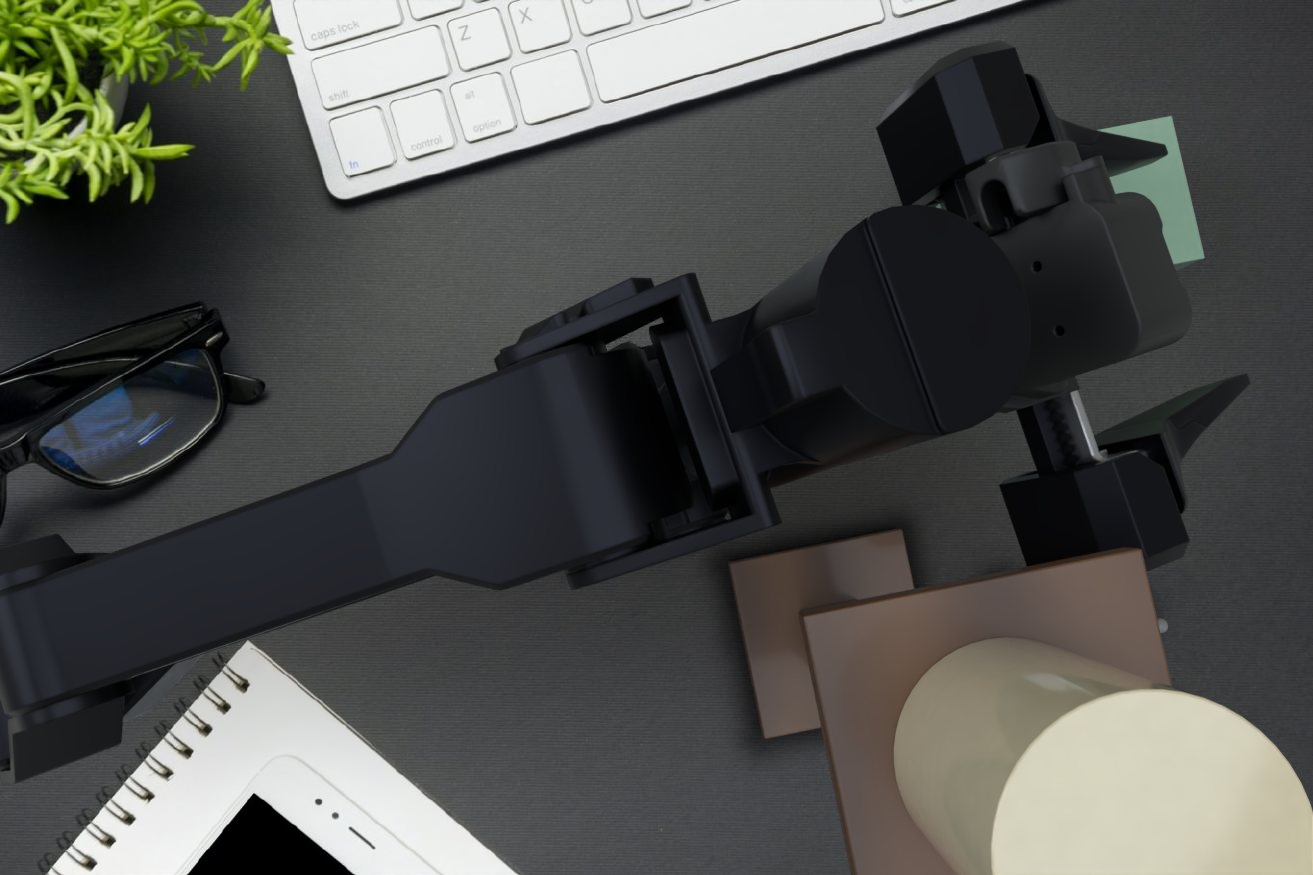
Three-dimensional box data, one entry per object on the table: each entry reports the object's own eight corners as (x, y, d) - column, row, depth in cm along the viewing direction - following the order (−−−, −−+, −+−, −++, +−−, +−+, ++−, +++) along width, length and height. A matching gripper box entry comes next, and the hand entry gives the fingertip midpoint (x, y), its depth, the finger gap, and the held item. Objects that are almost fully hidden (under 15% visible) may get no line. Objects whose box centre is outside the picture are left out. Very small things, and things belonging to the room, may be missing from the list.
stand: (762, 734, 55) (874, 968, 27) (727, 561, 56) (802, 615, 28) (933, 700, 55) (1221, 898, 27) (897, 528, 56) (1142, 547, 28)
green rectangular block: (946, 324, 56) (994, 293, 48) (918, 195, 57) (961, 144, 49) (1144, 285, 57) (1225, 248, 49) (1115, 158, 57) (1191, 100, 49)
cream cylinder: (919, 897, 27) (1030, 1059, 19) (871, 661, 28) (960, 724, 20) (1150, 850, 27) (1356, 992, 19) (1098, 616, 28) (1280, 660, 20)
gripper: (1096, 648, 28) (1500, 475, 33) (868, -9, 29) (1291, -87, 34) (894, 634, 39) (1221, 505, 43) (733, 152, 40) (1068, 76, 44)
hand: (1199, 266), depth 41 cm, fingers open, 9 cm apart
